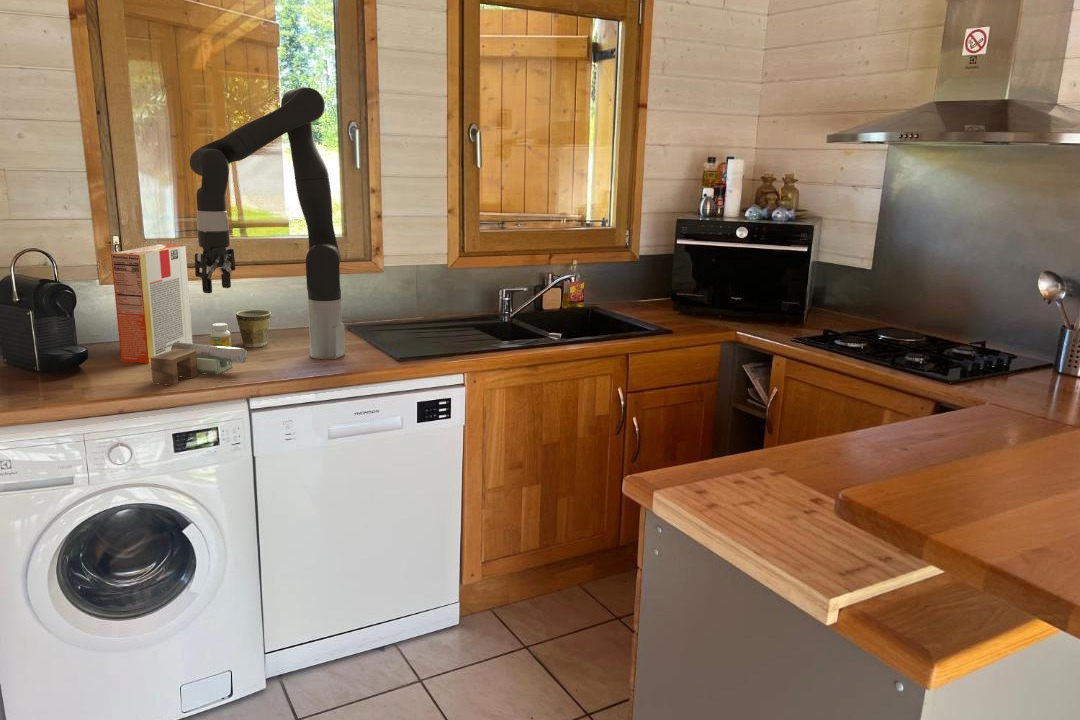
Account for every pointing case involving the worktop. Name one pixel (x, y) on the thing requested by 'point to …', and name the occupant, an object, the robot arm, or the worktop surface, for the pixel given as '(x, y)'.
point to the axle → (214, 352)
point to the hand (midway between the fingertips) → (217, 290)
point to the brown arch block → (173, 366)
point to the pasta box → (151, 300)
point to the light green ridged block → (212, 366)
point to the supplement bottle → (220, 335)
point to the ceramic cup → (254, 326)
